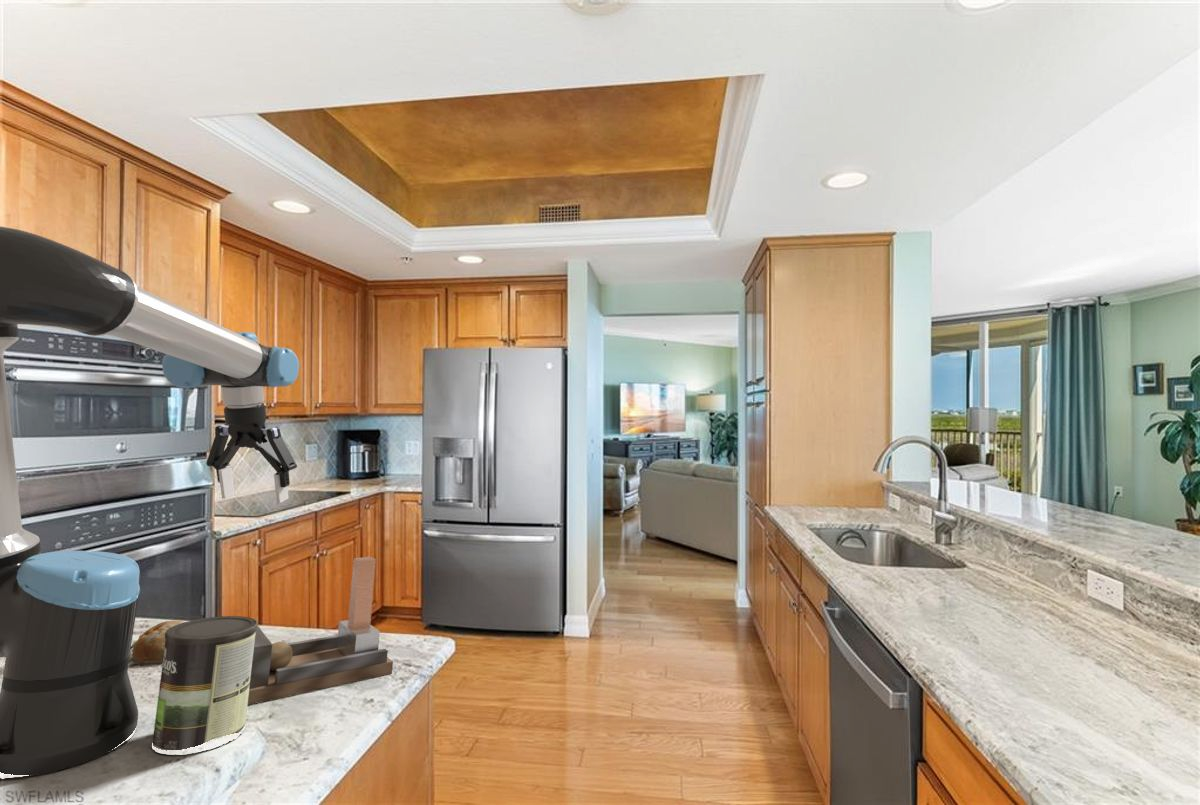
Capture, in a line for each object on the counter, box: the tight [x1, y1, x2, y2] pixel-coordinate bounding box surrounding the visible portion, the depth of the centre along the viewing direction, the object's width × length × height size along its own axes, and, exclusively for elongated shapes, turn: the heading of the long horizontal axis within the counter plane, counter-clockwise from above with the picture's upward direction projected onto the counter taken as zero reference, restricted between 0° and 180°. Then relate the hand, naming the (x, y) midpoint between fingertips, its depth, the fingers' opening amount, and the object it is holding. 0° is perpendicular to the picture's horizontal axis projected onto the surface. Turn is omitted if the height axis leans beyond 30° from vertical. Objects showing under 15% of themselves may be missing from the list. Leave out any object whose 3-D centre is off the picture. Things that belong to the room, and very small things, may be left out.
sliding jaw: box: [337, 556, 381, 656], centre depth 100 cm, size 4×10×17 cm, turn 41°
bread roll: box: [130, 620, 185, 665], centre depth 100 cm, size 10×10×8 cm
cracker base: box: [247, 625, 394, 706], centre depth 94 cm, size 22×14×8 cm, turn 131°
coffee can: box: [151, 615, 259, 751], centre depth 73 cm, size 10×10×14 cm
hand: (255, 498), depth 121 cm, fingers open, 13 cm apart
